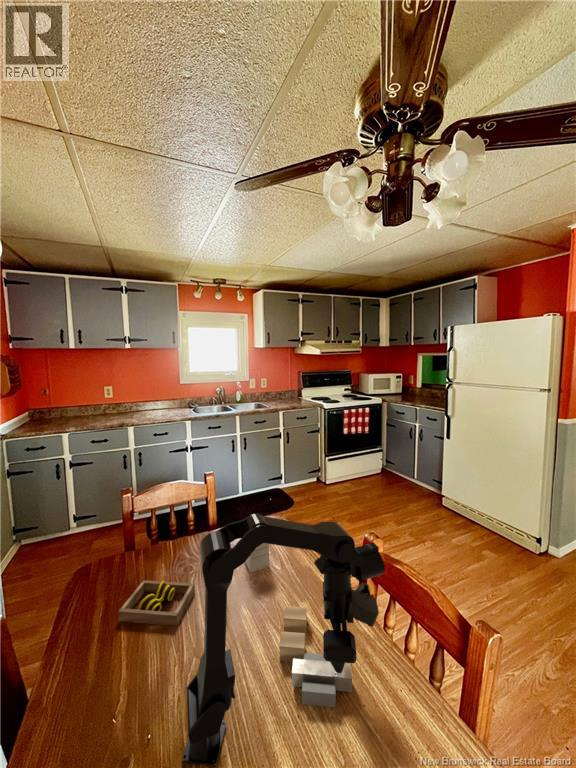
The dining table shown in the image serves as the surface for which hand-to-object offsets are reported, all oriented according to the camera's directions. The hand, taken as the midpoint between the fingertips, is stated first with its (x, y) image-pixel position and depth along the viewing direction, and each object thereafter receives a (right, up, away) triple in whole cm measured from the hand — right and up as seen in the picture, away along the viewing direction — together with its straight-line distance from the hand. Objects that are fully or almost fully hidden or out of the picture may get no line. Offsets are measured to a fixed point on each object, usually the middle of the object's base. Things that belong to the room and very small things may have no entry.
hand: (337, 651), depth 67 cm
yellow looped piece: (-49, -7, +24) cm, 55 cm away
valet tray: (-49, -7, +24) cm, 55 cm away
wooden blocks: (-9, -8, +12) cm, 17 cm away
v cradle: (-4, -8, +1) cm, 9 cm away
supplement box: (-22, -6, +42) cm, 48 cm away
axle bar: (-3, -8, +1) cm, 8 cm away
